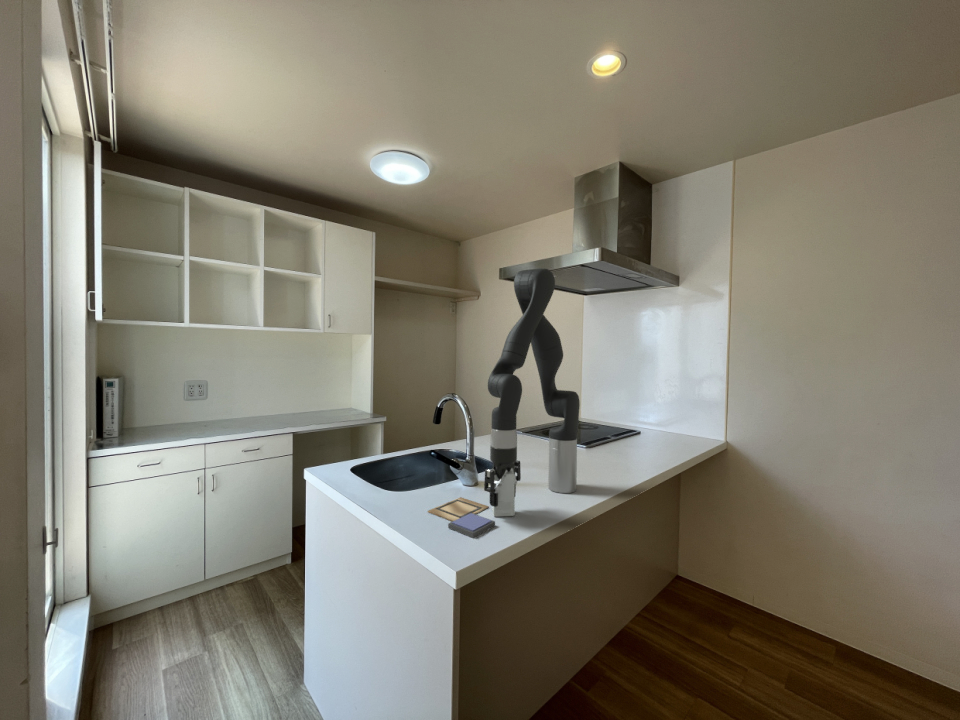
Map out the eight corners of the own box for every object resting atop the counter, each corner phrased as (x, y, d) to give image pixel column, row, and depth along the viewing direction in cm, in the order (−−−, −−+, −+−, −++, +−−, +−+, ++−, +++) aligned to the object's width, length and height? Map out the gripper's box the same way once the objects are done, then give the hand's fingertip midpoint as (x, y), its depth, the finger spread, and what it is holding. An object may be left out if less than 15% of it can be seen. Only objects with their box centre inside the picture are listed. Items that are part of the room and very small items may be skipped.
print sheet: (460, 498, 122) (460, 496, 122) (488, 507, 115) (488, 505, 115) (427, 512, 111) (427, 510, 111) (456, 523, 104) (456, 521, 104)
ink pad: (470, 517, 108) (470, 511, 108) (495, 525, 103) (495, 520, 103) (448, 528, 101) (448, 522, 101) (472, 538, 96) (473, 532, 96)
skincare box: (512, 510, 113) (512, 469, 113) (515, 517, 109) (515, 473, 108) (491, 511, 112) (491, 469, 112) (493, 517, 108) (493, 474, 108)
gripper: (507, 438, 118) (506, 491, 118) (477, 446, 107) (476, 505, 107) (528, 442, 113) (527, 497, 114) (499, 451, 102) (498, 512, 103)
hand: (502, 501), depth 110 cm, fingers open, 8 cm apart
